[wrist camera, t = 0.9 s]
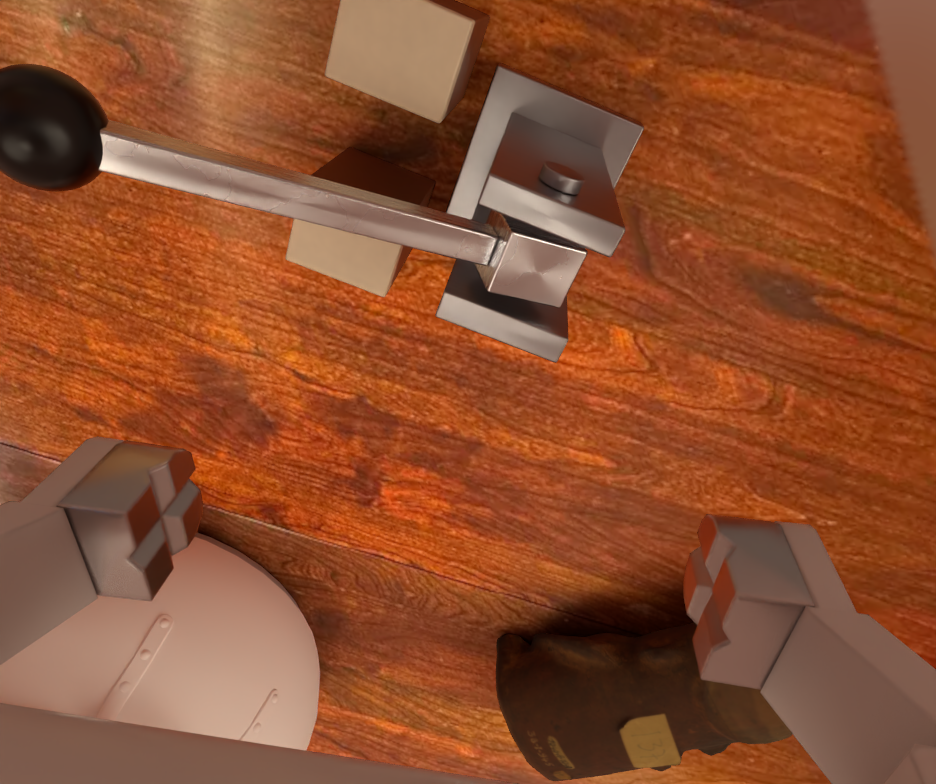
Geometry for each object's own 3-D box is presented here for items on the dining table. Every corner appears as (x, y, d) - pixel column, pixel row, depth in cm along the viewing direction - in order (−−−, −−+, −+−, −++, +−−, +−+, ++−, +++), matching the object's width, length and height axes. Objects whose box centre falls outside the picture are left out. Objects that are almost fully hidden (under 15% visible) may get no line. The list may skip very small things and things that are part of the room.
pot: (145, 421, 42) (-74, 648, 27) (417, 640, 51) (361, 899, 36) (-36, 587, 54) (-253, 805, 40) (209, 740, 63) (105, 964, 48)
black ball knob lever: (-2, 150, 18) (-46, 191, 15) (-8, 34, 16) (-58, 60, 14) (533, 281, 24) (558, 324, 22) (567, 207, 22) (598, 245, 20)
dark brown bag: (811, 661, 46) (851, 767, 40) (558, 715, 54) (558, 811, 47) (757, 548, 41) (792, 648, 35) (485, 624, 49) (474, 718, 42)
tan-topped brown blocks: (392, -27, 27) (347, -34, 21) (490, 16, 27) (472, 21, 21) (333, 212, 33) (284, 260, 27) (415, 244, 33) (384, 298, 27)
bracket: (442, 225, 32) (385, 339, 22) (499, 61, 28) (464, 102, 17) (567, 275, 33) (572, 410, 22) (641, 122, 29) (693, 198, 18)
